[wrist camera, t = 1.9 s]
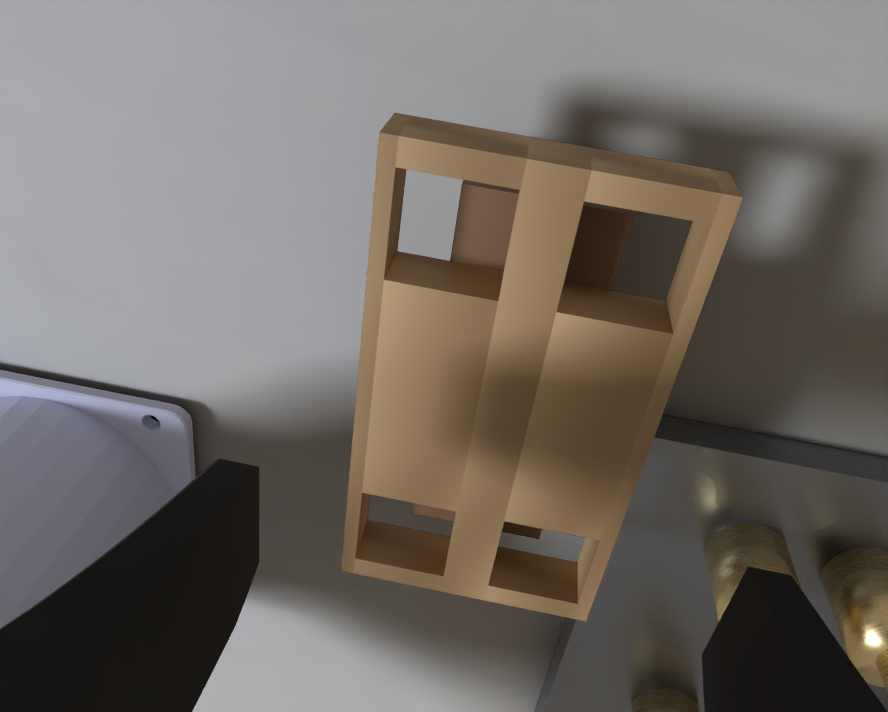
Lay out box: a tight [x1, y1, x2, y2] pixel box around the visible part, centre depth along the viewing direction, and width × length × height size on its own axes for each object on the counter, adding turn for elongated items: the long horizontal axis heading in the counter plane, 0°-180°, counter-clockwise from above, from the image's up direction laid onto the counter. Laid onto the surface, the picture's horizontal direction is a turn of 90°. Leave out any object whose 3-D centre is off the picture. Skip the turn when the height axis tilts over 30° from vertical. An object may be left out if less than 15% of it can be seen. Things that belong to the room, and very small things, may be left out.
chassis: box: [534, 415, 888, 712], centre depth 20 cm, size 10×13×5 cm
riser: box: [411, 180, 634, 539], centre depth 16 cm, size 3×8×3 cm, turn 172°
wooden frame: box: [341, 113, 743, 621], centre depth 15 cm, size 6×10×1 cm, turn 172°
